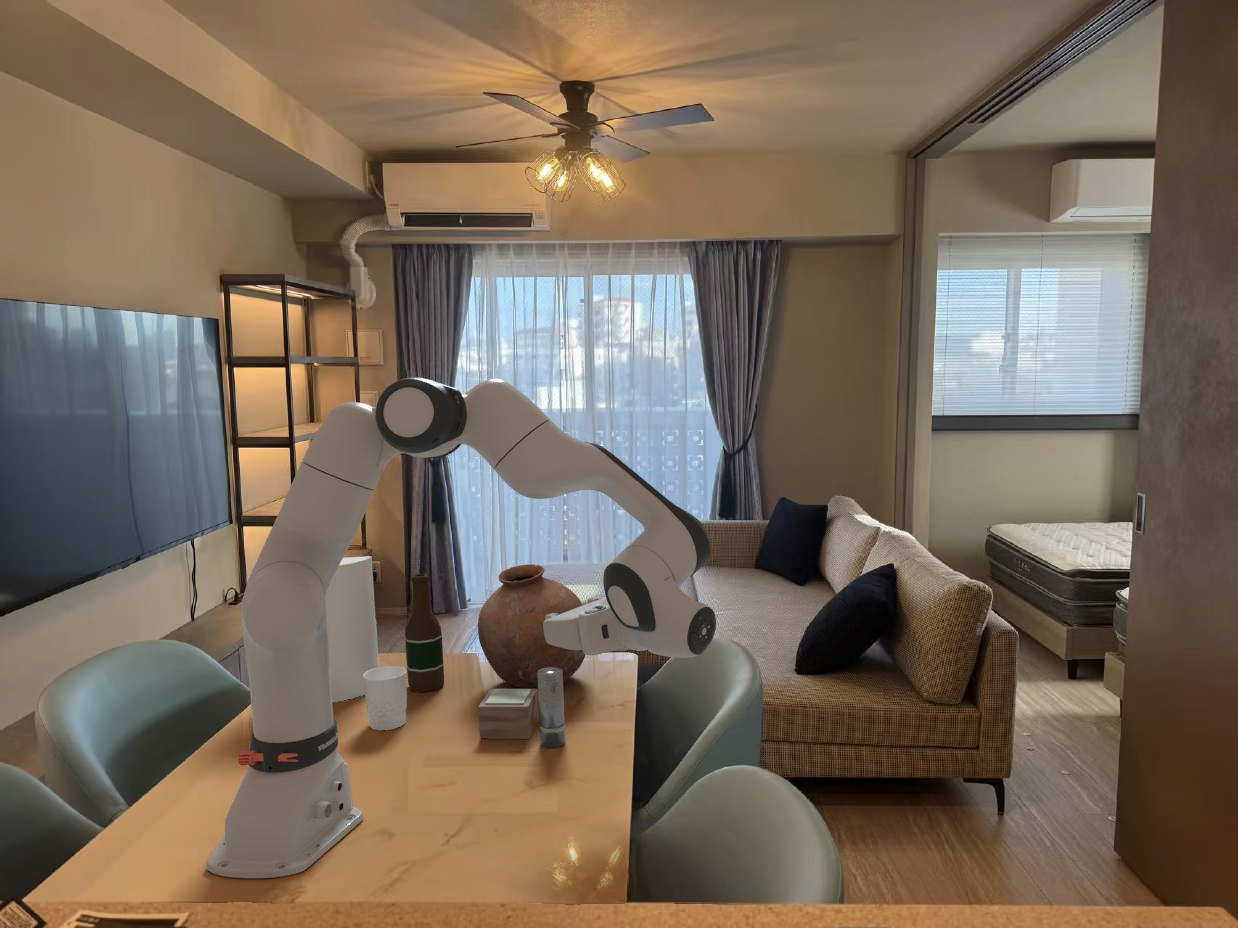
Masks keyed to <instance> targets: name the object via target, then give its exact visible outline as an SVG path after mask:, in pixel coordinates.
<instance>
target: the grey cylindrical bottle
mask: <svg viewBox="0 0 1238 928" xmlns="http://www.w3.org/2000/svg"><path fill="white" fill-rule="evenodd" d="M537 678H538V710H539V720H538V731H539V742H540V747H542V748H545V749H558V748H561V747H563V746H565V744H566V722H565V700H564V682H563V672H562V669H560V668H556V667H548V668H543V669H540V670H538V671H537Z"/></svg>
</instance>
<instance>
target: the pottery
mask: <svg viewBox="0 0 1238 928" xmlns="http://www.w3.org/2000/svg"><path fill="white" fill-rule="evenodd" d="M544 572H545V567H544V566H542V565H540V564H533V563H532V564H521V565H520V564H518V565H515V566H512V567H511V566H510V567H509V568H507V569H504V570H502V571H501V572H500V573H499V574H498V581H499V582H500V583H501V584H502V585H501V586H499V587H498V588H497V589H496V590H495V591H493V593H492V594H491V595H490V596H489V598H488V599H486V601H485V602H484V603H483V605H482V606H481V609H480V611H479V615H478V620H477V632H478V633H477V634H478V640H479V644H480V647H481V650H482V651H483V653H484V654H483V655H484V656H485V658H486V660H487V661H488V663H489V665H490V667H491V669H492V670H493V672H495V673H496V675H497V676H498V677H499V679H500V680H502V681H503V682H505V683H507V684H509V685H511V686H513V687H516V688H519V689H538V678H537V671H538V670H540V669H543V668H548V667H556V668H560V669H562V672H563V683H565V681H567V680H569V678H570V679H571V677H572V676H574V675H575V674H576V672H577V671H578V670H579V669H580V667H581V666H582V664H583V662H584V661H585V658H586V655H585V654H584V651H583V650H570V649H565V648H560V647H557V646H553V645H550V644H548V643H547V642H546V639H545V635H544V629H543V623H544V620H545V616H546V615H548V614H551V613H558V615H559V614H562V613H564V612H567V611H570V610H572V609H575V608H578V607H580V606H583V605H584V604H583V603H582V601H581V600H580V598H579V597H578V595H577V594H576V593H574V592H573V590H572V589H570V588H569V587H567V586H565V585H564V584H562V583H560V582H557V581H555V580H552V579H550V578H546V577H543V575H544Z"/></svg>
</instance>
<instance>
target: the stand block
mask: <svg viewBox="0 0 1238 928" xmlns="http://www.w3.org/2000/svg"><path fill="white" fill-rule="evenodd" d="M477 708H478V722H479V725H478V726H479V739H480V738H486V740H530V739H531V737H532V735H533V733H534V731H535V728H536V726H537V724H538V723H539V700H538V689H527V688H489V690H488V692H487V693H486V695H485V696H484V698H483V700H482V701H481V702H480V703H479V705H478V707H477ZM487 738H488V739H487Z"/></svg>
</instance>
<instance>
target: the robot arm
mask: <svg viewBox="0 0 1238 928" xmlns="http://www.w3.org/2000/svg"><path fill="white" fill-rule="evenodd" d="M462 445H465V446H467V447H470V448H472V449H474V451H476V452H477V453H478V454H479V455H480V456H481V457H482V458H483V459H484V460H485V461H486V462H487V464H488V465H489V466H490V467H491V468H492V469H493V470H494V472H495V473H496V474H497V475H498V476H499V477H500V479H501V480H503V482H504V483H506V485H507V486H508V487H509V488H510V489H512V490H513V491H514V492H515V493H517V494H519V495H520V496H521V497H526V498H530V499H537V500H543V499H545V500H547V499H553V498H557V497H561V496H564V495H567V494H571V493H573V492H579V491H596V492H599V493H602V494H604V495H606V496H607V497H609V499H611V500H612V501H614V503H616V504H617V505H618V506H619V507H621V509H623V510H624V511H626V512H627V513H628V514H629V515H630V516H631V517H632V518H634V519H635V520H636V521H638V522H639V523H640V524H641V525H642V526H643V529H644V531H643V532H642V533H641V534H639V536H637V537H636V538H635V540H633V541H632V542H631V543H630V544H629V545H628V546H626V547H625V548H624V549H623V550H622V551H621V552H620V553H619V554H618V555H617V556H616V557H614V558H613V559H612V560H611V562H609V564H608V565H606V567H605V568H604V572H603V578H602V579H603V580H602V581H603V590H604V594H605V596H601V597H599V596H593V597H590V598H588V600H587V603H586V604H582V605H583V606H580V607H578V608H575V609H572V610H570V611H567V612H564V613H562V614H559V615H558V613H551V614H548V615H546V616H545V620H544V623H543V629H544V635H545V639H546V642H547V643H548V644H550V645H553V646H557V647H560V648H565V649H570V650H583V651H584V654H585V656H590V657H592V656H597V655H601V654H606V653H609V652H611V653H612V652H613V651H614V652H615V651H628V650H631V651H632V650H633V651H637V652H641V651H648V652H650V653H651V654H654V655H658V656H661V657H662V656H664V657H668V658H678V659H679V658H680V659H681V658H683V659H688V658H694V657H697V656H700V655H701V654H703V653H704V651H706V649H708V647H710V644H711V643H712V641H713V639H714V636H715V634H716V629H717V616H716V613H715V611H714V608H712V606H709V605H708V604H705V603H703V602H700V601H696V600H694V599H692V598H691V597H690V596H688V595H687V594H686V593H685V592H684V591H683V590H682V589H681V587H682V586H683V584H684V583H685V582H686V581H687V580H688V579H689V578H691V577H692V576H693V575H695V573H697V572H698V571H700V569H701V568H703V567H704V566H705V565H706V564H707V563H708V562H709V560H710V558H711V543H710V537H709V533H708V530H707V529H706V526H705V525H704V524H703V523H702V522H701V520H699V519H698V518H697V517H695V515H693V514H692V513H690V512H688V511H686V510H685V509H683V508H681V507H680V506H678V505H676V504H675V503H674V502H672V501H671V500H669V499H668V498H667V497H665V496H664V495H663V494H662V493H661V492H660V491H658V490H657V489H656V488H655V487H654V486H652V485H651V484H650V483H649V482H647V481H646V480H645V478H642V477H641V476H640V475H639V474H638V473H636V471H634V470H633V469H631V467H629V466H628V465H627V464H626V463H625V462H623V461H622V460H621V459H620V458H618V457H617V456H616V455H614V453H612V452H611V451H609V450H608V449H606V448H605V447H603V446H602V445H601V444H599V443H596V442H593V441H582V440H580V439H577V438H575V437H574V436H571V435H570V434H567V433H566V432H564V430H562V429H561V428H559V427H558V426H557V425H556V424H555V423H554V422H553V421H552V420H551V419H550V418H549V416H548V415H546V413H545V412H544V411H543V410H542V409H541V408H539V406H538V405H536V403H535V402H533V401H532V400H531V399H530V398H529V397H528V396H526V395H525V394H524V393H523V392H522V391H520V390H519V389H517V388H516V387H515V386H514V385H512V383H509V382H508V381H506V380H504V379H500V378H491V379H490V378H489V379H487V380H484V381H481V382H479V383H477V384H476V385H474V386H473V387H472V388H471V389H470V390H468V391H466V392H465V393H462V392H461V391H460V390H459V389H458V388H456V387H452V386H450V385H445V384H443V383H440V382H437V381H434V380H431V379H427V378H424V377H406V378H401V379H399V380H396V381H394V382H392V383H391V384H389V385H388V386H387V387H386V388H385V389H384V390H383V391H382V392H381V394H380V395H379V397H378V400H377V403H376V406H373V405H369V404H367V403H365V402H358V401H347V402H341V403H339V404H338V405H336V406H335V407H333V408H332V409H331V411H330V412H329V413H328V415H327V416H326V418H325V419H324V420H323V422H322V423H321V425H320V427H319V429H318V430H317V431H316V433H315V435H314V437H313V438H312V440H311V442H310V444H309V446H308V447H307V449H306V452H305V454H304V456H303V458H302V461H301V462H300V465H299V467H298V468H297V469H298V470H297V471H296V474H295V475H294V478H293V481H292V482H291V485H290V487H289V490H288V492H287V494H286V496H285V498H284V501H283V502H282V505H281V507H280V510H279V512H278V514H277V516H276V519H275V520H274V522H273V526H272V527H271V529H270V531H269V533H268V536H267V537H266V539H265V542H264V544H263V547H262V549H261V550H260V553H259V555H258V557H257V560H256V561H255V564H254V566H253V568H252V570H251V572H250V575H249V578H248V580H247V582H246V587H245V590H244V593H243V596H242V600H241V604H240V618H241V619H240V621H241V630H242V638H243V645H244V646H243V647H244V652H245V653H244V655H245V661H246V667H247V675H248V680H249V693H250V705H251V716H252V727H253V728H252V729H253V732H252V733H251V735H250V742H249V744H248V750H245V749H243V750H241V751H239V754H238V755H239V756H238V758H237V759H238V764H239V766H247V765H248V768H247V770H246V773H245V775H244V776H243V779H242V780H241V783H240V784H239V787H238V790H237V791H236V794H235V796H234V798H233V801H232V803H231V805H230V807H229V810H228V812H227V814H226V816H225V820H224V821H225V822H224V835H223V837H222V839H221V840H220V842H219V843H218V845H217V846H216V848H215V849H214V851H213V852H212V854H211V855H210V856H209V858H208V859H207V861H206V870H207V871H208V872H209V873H211V874H214V875H217V876H222V877H227V878H235V879H236V878H237V879H270V878H278V877H286V876H290V875H295V874H299V873H302V872H304V871H305V870H306V869H308V868H309V867H310V866H312V865H313V864H314V863H315V862H316V861H317V860H318V859H320V858H321V857H322V856H323V855H324V854H325V853H327V851H329V850H330V849H331V848H333V846H334V845H336V844H337V843H339V841H340V840H342V839H343V838H344V837H345V836H346V835H347V834H349V832H350V831H351V830H353V829H354V828H355V827H356V826H358V825H359V824H360V823H361V822H362V821H363V819H364V816H363V815H364V814H363V812H362V810H361V809H359V808H357V807H356V806H355V804H354V796H353V790H352V789H353V788H352V783H351V782H352V781H351V776H350V771H349V769H350V768H349V765H348V763H346V761H345V760H344V759H343V757H342V756H341V754H340V753H339V751H338V746H339V728H338V724H337V720H336V719H335V718H334V710H333V709H334V708H333V702H332V692H331V677H330V662H329V647H328V631H327V615H326V601H325V597H326V592H327V589H328V587H329V584H330V582H331V580H332V578H333V576H334V574H335V572H336V570H337V568H338V566H339V564H340V562H341V560H342V559H343V558H345V555H346V553H347V551H348V549H349V547H350V546H351V544H352V542H353V541H354V539H355V537H356V536H357V535H356V534H357V532H358V531H359V528H360V526H361V523H362V521H363V520H364V519H363V518H364V516H365V515H366V514H365V513H366V512H367V510H368V507H369V505H370V502H371V500H372V499H373V496H374V493H375V491H376V489H377V486H378V484H379V481H380V479H381V477H382V474H383V473H384V470H385V469H386V467H387V465H388V463H390V461H391V460H392V459H394V458H395V457H396V456H398V455H400V456H404V457H414V458H420V459H421V458H422V459H423V458H424V459H439V458H443V457H447V456H449V455H451V454H452V453H454V452H456V451H457V450H458V449H459V448H460V447H461V446H462Z"/></svg>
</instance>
